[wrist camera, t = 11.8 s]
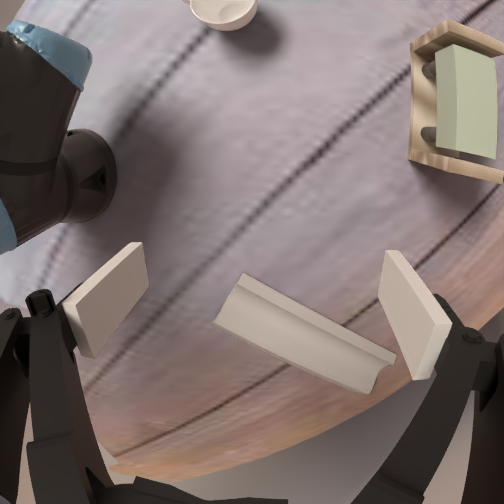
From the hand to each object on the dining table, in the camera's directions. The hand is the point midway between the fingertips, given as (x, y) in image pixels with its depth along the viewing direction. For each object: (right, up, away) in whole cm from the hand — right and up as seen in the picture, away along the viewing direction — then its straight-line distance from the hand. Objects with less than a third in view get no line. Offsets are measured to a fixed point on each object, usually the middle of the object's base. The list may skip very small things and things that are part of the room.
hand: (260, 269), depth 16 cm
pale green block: (+24, +19, +11) cm, 32 cm away
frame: (+25, +21, +16) cm, 36 cm away
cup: (-4, +33, +16) cm, 37 cm away
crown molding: (+9, -14, +34) cm, 38 cm away
